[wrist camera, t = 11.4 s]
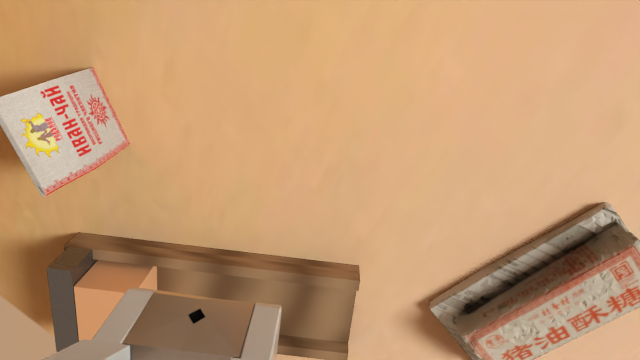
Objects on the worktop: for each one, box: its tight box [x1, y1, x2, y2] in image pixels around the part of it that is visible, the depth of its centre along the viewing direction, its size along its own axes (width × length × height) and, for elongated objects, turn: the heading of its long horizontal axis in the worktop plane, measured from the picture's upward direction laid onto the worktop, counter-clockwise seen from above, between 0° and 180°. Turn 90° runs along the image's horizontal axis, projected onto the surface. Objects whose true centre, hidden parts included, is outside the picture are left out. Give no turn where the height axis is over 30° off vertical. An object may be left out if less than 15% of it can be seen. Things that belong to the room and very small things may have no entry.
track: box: [64, 233, 360, 360], centre depth 45 cm, size 26×9×2 cm, turn 84°
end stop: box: [47, 247, 98, 352], centre depth 43 cm, size 2×9×5 cm, turn 174°
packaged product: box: [429, 202, 640, 360], centre depth 43 cm, size 18×5×10 cm
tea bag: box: [0, 67, 130, 197], centre depth 36 cm, size 4×7×10 cm, turn 18°
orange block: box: [74, 260, 157, 341], centre depth 43 cm, size 5×6×5 cm
